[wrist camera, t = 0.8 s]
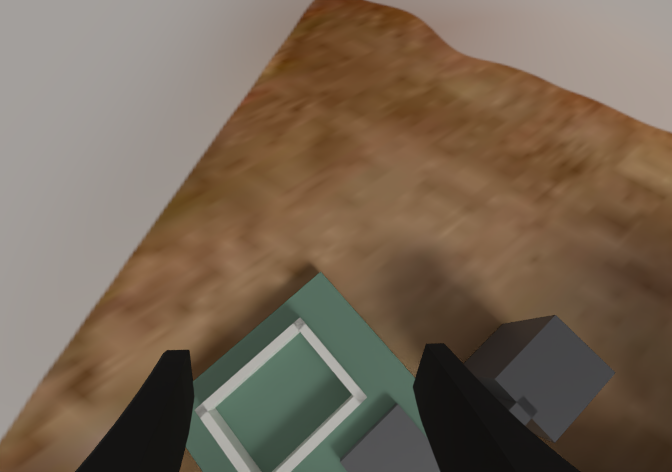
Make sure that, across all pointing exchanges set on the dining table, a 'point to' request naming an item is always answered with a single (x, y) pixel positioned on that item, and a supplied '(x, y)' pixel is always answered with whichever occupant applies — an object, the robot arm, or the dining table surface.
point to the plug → (540, 373)
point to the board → (309, 397)
